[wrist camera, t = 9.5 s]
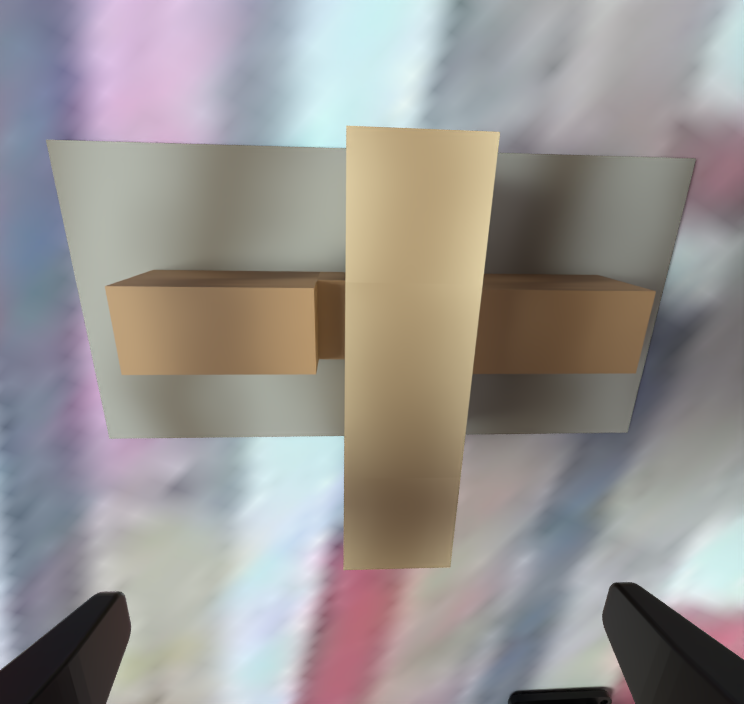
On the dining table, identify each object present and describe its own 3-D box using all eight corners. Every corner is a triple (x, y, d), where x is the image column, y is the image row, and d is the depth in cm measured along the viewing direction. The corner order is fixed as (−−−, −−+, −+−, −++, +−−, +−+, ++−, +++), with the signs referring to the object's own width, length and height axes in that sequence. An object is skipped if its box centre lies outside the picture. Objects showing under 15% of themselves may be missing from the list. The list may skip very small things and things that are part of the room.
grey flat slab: (688, 159, 17) (785, 146, 13) (622, 428, 21) (682, 477, 17) (53, 141, 15) (-40, 121, 11) (114, 434, 19) (59, 488, 15)
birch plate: (426, 166, 16) (499, 131, 8) (409, 426, 19) (450, 567, 12) (346, 163, 16) (346, 125, 8) (344, 426, 19) (343, 569, 12)
